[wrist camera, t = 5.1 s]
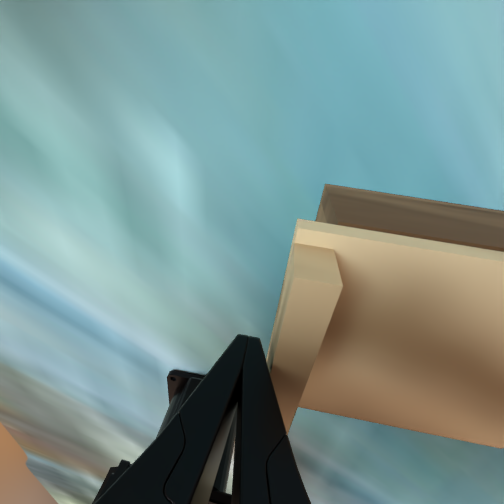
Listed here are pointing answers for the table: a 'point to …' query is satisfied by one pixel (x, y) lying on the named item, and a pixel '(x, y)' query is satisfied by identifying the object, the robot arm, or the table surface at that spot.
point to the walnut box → (412, 217)
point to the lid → (391, 332)
